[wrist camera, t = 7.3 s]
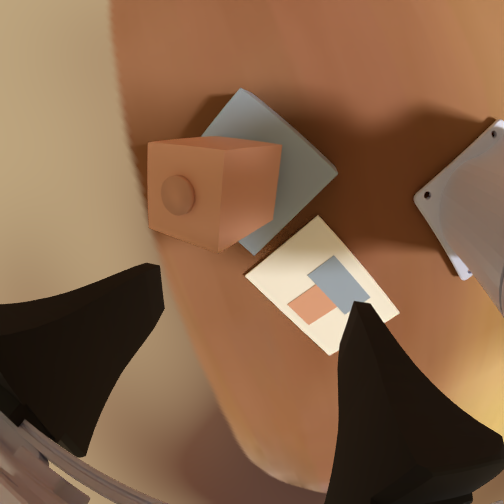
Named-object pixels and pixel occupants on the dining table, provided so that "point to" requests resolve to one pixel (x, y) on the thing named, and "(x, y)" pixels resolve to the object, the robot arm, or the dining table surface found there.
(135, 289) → the robot arm
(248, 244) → the base brick
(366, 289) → the page
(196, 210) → the top brick
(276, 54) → the dining table surface
